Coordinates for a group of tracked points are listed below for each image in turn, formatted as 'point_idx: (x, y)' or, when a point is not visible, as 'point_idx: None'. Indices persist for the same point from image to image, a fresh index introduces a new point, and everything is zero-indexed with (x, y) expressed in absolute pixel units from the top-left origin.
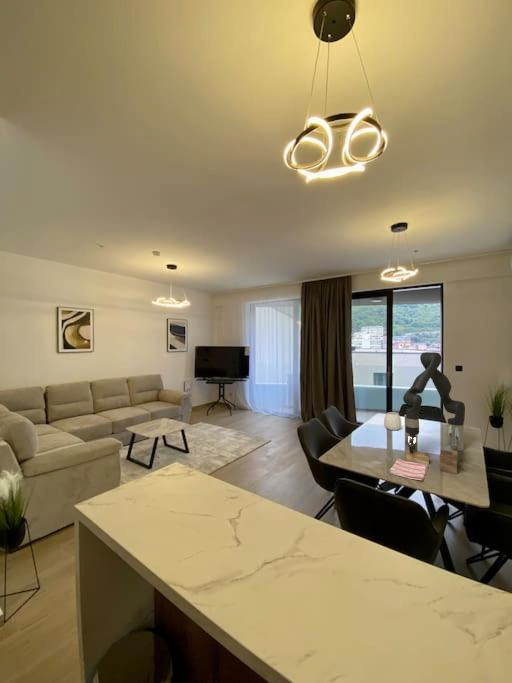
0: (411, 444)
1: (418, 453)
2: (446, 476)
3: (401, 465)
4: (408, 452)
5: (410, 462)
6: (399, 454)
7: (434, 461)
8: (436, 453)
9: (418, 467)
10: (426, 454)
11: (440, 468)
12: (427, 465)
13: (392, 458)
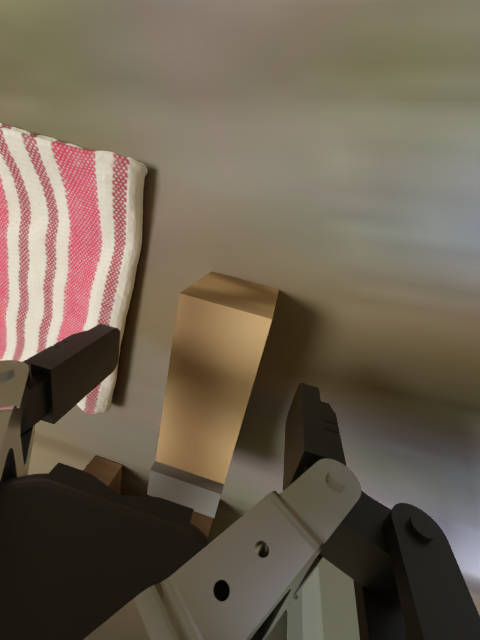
0: (298, 438)
1: (200, 422)
2: (33, 457)
3: (1, 193)
4: (188, 316)
5: (96, 292)
6: (383, 209)
7: (263, 481)
8: (476, 559)
9: (32, 336)
10: (167, 485)
11: (83, 470)
12: (84, 410)
13: (202, 98)
